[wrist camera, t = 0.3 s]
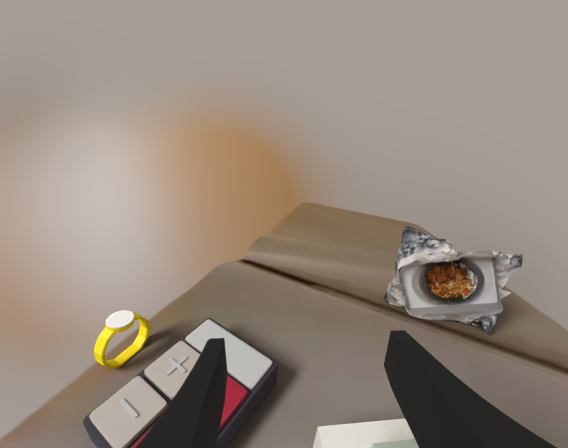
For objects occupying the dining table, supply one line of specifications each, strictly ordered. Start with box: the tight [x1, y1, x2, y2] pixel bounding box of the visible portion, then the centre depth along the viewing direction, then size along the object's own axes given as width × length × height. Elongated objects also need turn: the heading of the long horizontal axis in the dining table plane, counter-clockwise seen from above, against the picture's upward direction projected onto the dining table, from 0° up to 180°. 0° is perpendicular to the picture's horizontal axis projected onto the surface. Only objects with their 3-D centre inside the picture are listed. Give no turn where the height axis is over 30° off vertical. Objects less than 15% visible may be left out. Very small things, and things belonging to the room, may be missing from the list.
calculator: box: [83, 318, 277, 448], centre depth 29 cm, size 11×4×15 cm
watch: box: [94, 310, 150, 369], centre depth 33 cm, size 6×3×6 cm, turn 153°
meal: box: [384, 226, 522, 334], centre depth 42 cm, size 15×4×13 cm, turn 73°
